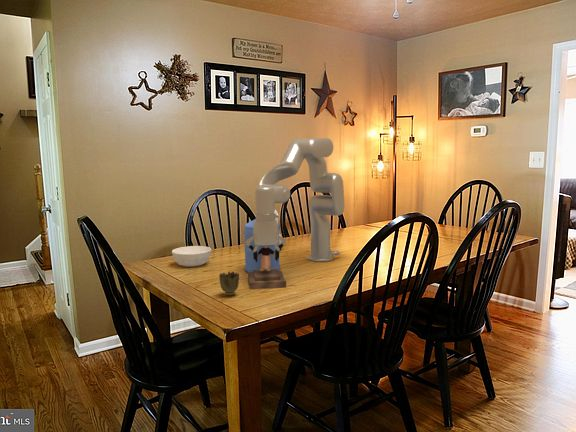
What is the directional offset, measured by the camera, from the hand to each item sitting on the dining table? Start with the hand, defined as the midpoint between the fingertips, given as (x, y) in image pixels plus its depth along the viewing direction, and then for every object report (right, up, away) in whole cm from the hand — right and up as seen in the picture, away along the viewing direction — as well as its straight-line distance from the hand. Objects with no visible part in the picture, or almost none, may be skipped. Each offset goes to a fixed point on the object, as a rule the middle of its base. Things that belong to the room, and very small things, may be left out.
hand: (266, 260), depth 184 cm
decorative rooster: (-3, -1, +59) cm, 59 cm away
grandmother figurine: (0, -4, +1) cm, 4 cm away
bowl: (-37, -5, +32) cm, 49 cm away
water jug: (-3, -7, +20) cm, 21 cm away
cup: (-13, -12, -15) cm, 23 cm away
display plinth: (0, -9, +1) cm, 9 cm away
